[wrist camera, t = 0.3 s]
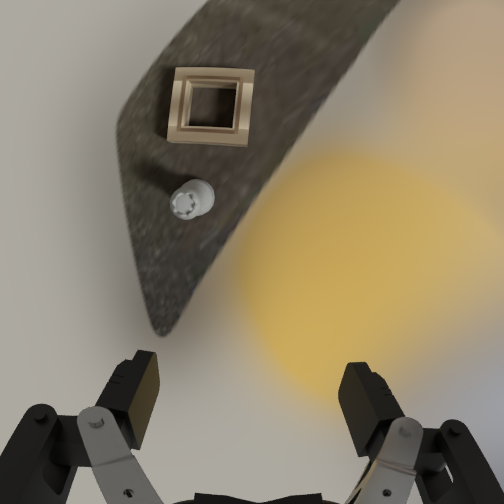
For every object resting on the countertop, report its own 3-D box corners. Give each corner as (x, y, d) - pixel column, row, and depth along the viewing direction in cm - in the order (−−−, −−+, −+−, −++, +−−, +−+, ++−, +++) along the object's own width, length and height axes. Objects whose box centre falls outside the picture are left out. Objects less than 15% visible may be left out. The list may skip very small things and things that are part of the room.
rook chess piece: (173, 205, 35) (154, 216, 28) (188, 172, 34) (172, 173, 27) (205, 220, 36) (195, 234, 28) (221, 187, 35) (214, 192, 27)
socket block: (181, 74, 31) (175, 67, 28) (253, 77, 31) (254, 69, 28) (173, 142, 33) (166, 140, 30) (246, 147, 34) (247, 144, 31)
